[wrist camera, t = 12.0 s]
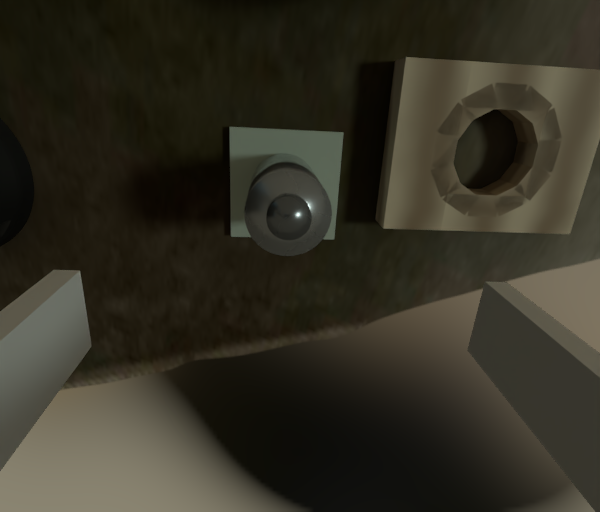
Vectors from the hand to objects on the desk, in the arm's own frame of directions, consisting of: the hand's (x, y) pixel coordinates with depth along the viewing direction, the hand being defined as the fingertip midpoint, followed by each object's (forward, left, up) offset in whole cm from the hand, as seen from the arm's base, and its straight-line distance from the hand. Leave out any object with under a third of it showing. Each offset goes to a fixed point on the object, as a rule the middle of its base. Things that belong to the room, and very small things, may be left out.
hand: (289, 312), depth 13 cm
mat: (+1, -1, -25) cm, 25 cm away
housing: (+19, +3, -25) cm, 31 cm away
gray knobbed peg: (0, -1, -25) cm, 25 cm away
